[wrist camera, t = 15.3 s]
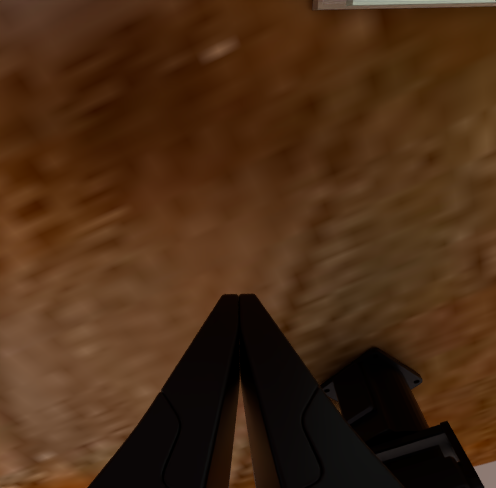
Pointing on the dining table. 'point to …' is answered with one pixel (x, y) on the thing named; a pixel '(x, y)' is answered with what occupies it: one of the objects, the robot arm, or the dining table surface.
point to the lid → (412, 2)
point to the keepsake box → (338, 2)
